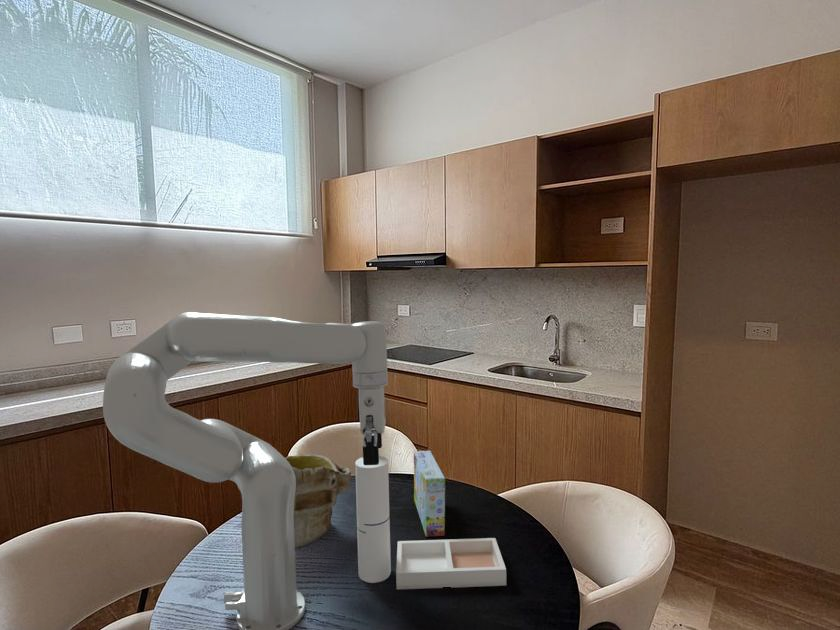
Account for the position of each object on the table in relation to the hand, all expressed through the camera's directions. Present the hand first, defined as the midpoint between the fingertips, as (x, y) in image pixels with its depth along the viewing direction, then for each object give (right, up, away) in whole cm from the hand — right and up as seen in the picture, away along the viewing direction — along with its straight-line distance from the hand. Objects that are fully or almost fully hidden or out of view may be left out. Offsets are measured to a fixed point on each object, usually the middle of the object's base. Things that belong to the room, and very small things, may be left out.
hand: (373, 455), depth 98 cm
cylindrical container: (0, -26, +1) cm, 26 cm away
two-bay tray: (+17, -26, +2) cm, 31 cm away
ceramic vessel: (-19, -26, +19) cm, 37 cm away
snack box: (+13, -25, +25) cm, 38 cm away
